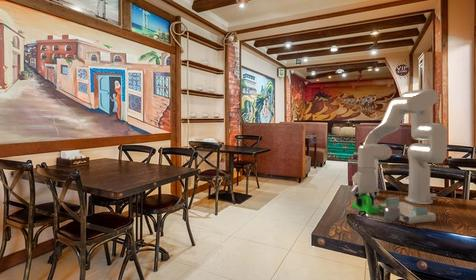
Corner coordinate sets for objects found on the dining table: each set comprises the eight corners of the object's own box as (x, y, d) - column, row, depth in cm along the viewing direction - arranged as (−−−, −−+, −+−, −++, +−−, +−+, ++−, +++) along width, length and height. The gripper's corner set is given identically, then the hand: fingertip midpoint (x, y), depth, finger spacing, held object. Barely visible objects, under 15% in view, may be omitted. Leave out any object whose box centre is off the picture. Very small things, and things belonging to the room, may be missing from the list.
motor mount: (402, 207, 136) (402, 196, 135) (435, 220, 118) (436, 207, 118) (364, 211, 131) (364, 199, 131) (392, 225, 113) (393, 211, 113)
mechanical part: (379, 212, 129) (379, 196, 128) (368, 213, 128) (368, 197, 127) (362, 205, 141) (362, 190, 140) (352, 206, 139) (352, 191, 139)
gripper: (375, 167, 138) (374, 202, 140) (345, 169, 135) (345, 204, 136) (386, 170, 131) (385, 206, 132) (355, 172, 127) (354, 209, 129)
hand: (364, 205), depth 134 cm, fingers closed on mechanical part, 6 cm apart
